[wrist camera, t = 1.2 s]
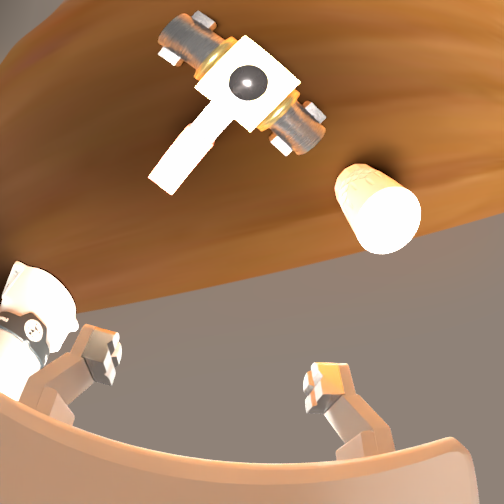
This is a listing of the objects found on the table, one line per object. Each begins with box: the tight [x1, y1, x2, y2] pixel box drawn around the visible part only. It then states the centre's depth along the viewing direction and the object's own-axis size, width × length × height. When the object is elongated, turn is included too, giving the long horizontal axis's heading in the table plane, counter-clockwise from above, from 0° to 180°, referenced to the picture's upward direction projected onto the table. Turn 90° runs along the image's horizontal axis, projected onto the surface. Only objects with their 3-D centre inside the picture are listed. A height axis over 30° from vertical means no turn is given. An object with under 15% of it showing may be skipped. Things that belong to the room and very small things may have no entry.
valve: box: [158, 11, 327, 156], centre depth 25 cm, size 20×7×8 cm, turn 48°
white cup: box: [335, 164, 421, 254], centre depth 31 cm, size 8×8×10 cm
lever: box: [148, 65, 268, 195], centre depth 23 cm, size 14×3×2 cm, turn 138°
